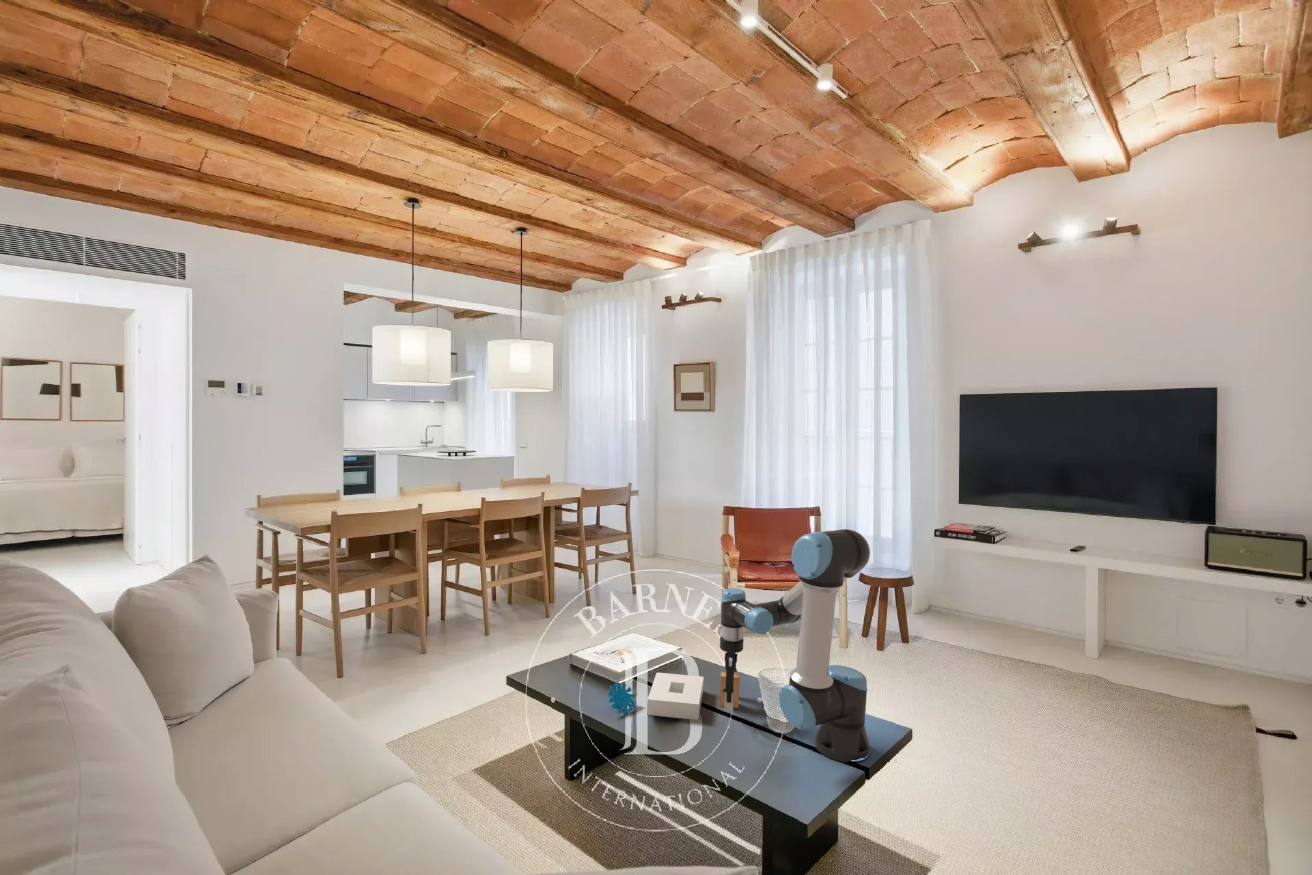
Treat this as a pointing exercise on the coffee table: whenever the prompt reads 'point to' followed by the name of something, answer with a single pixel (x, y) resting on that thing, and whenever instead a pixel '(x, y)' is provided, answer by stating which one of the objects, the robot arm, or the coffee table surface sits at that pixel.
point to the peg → (735, 688)
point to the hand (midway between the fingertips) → (729, 701)
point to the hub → (675, 696)
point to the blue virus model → (621, 698)
